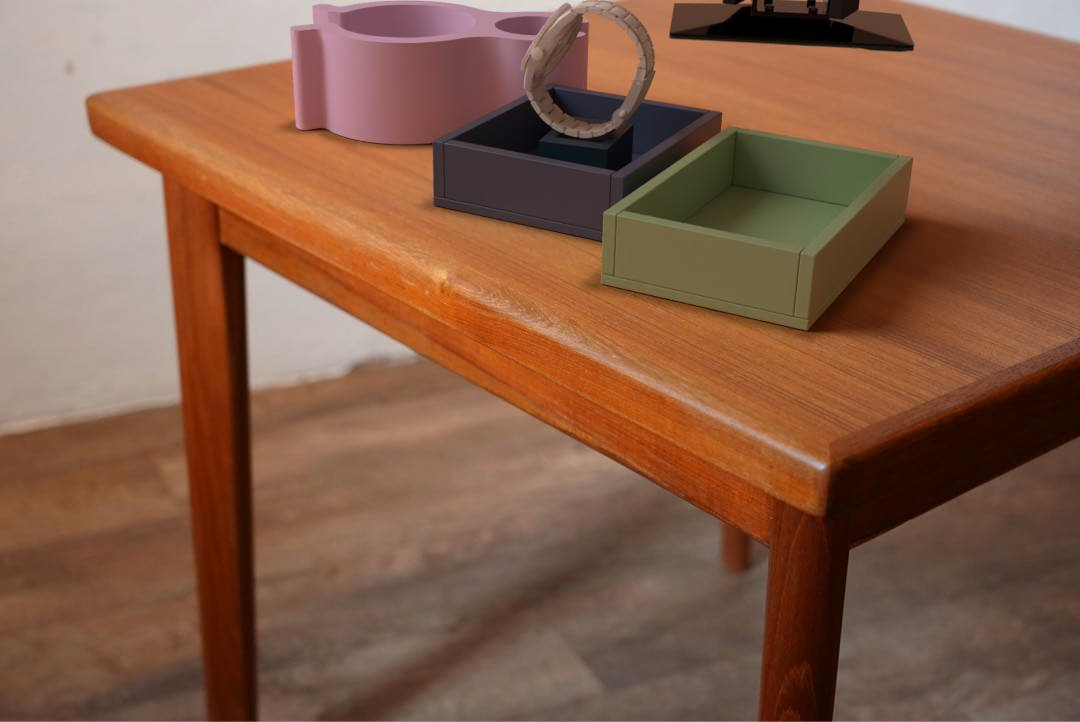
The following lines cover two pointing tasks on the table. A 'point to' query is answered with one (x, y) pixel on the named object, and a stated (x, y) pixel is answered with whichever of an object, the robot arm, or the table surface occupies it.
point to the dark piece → (789, 25)
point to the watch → (578, 135)
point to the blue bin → (558, 161)
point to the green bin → (757, 225)
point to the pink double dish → (415, 67)
